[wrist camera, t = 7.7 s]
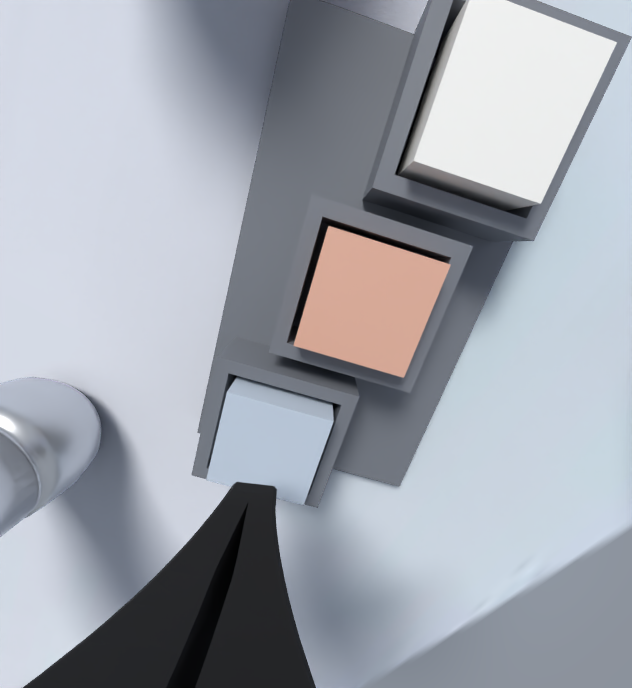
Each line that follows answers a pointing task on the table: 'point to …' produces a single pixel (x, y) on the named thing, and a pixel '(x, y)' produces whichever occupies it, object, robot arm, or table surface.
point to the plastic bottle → (42, 444)
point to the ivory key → (503, 104)
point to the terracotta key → (369, 302)
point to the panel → (360, 228)
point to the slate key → (270, 438)
